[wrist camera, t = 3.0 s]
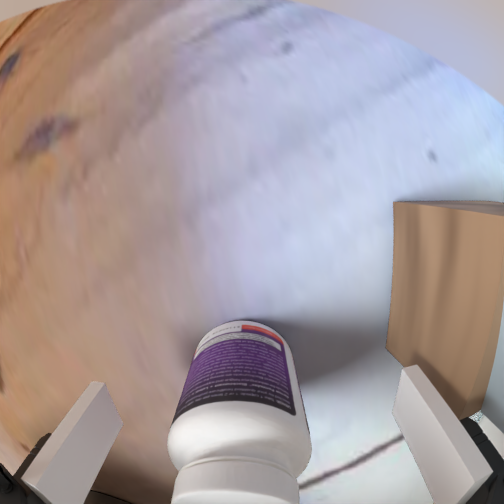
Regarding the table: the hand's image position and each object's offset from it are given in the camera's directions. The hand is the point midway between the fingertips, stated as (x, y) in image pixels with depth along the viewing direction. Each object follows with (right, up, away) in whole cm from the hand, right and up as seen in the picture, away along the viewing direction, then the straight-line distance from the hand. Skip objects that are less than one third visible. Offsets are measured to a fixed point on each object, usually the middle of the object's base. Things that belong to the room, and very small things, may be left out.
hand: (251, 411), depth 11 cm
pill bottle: (0, +1, +5) cm, 5 cm away
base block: (+11, +6, +3) cm, 13 cm away
